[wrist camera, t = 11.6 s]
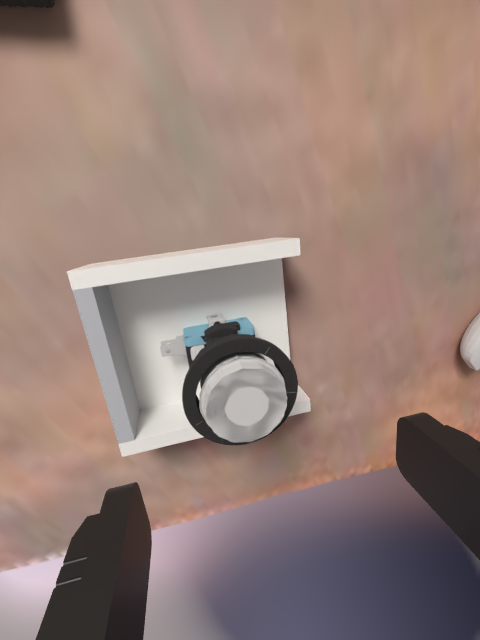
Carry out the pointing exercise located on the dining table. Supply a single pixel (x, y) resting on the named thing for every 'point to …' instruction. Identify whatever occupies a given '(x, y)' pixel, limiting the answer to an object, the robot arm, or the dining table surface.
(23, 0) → the disk drive
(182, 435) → the box
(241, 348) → the push button
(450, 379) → the dining table surface
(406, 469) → the robot arm
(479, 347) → the game controller
